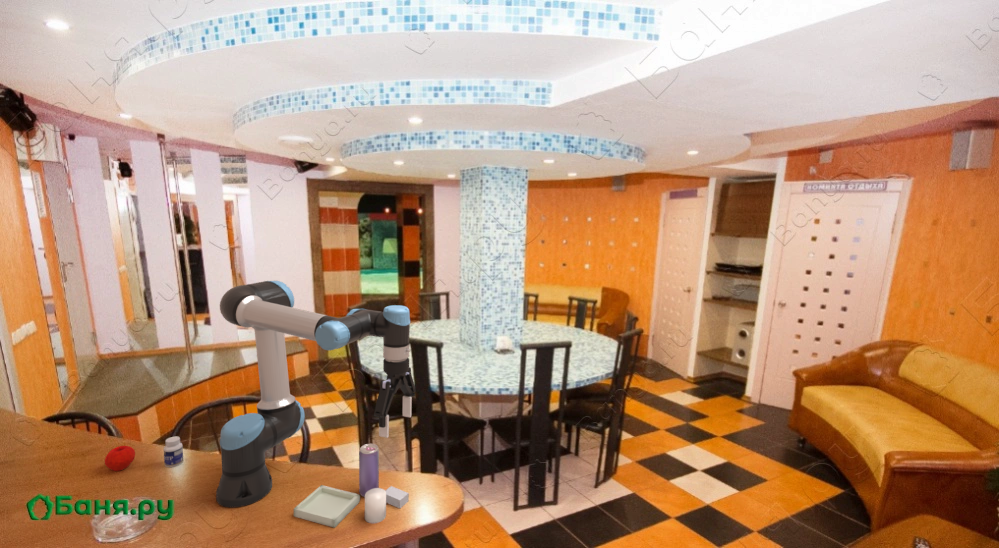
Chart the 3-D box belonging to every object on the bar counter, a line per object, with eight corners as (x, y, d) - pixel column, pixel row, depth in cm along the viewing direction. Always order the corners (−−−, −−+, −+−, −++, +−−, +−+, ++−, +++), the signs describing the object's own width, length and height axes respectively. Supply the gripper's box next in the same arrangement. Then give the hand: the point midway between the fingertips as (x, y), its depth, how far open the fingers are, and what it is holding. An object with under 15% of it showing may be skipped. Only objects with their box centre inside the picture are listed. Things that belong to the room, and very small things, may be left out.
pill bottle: (160, 466, 149) (158, 441, 148) (175, 458, 154) (173, 434, 153) (173, 468, 148) (171, 444, 146) (187, 460, 153) (185, 436, 151)
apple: (140, 466, 148) (139, 446, 147) (110, 478, 141) (108, 456, 140) (131, 459, 152) (129, 439, 151) (101, 469, 146) (99, 448, 145)
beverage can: (373, 499, 136) (373, 454, 134) (355, 496, 137) (355, 451, 135) (382, 488, 142) (382, 444, 140) (365, 485, 143) (365, 442, 141)
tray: (293, 516, 127) (293, 508, 127) (321, 491, 139) (321, 484, 138) (334, 527, 123) (334, 520, 123) (359, 501, 135) (359, 494, 134)
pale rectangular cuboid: (382, 501, 136) (382, 492, 135) (391, 494, 139) (391, 485, 139) (399, 509, 132) (400, 500, 132) (408, 502, 136) (408, 493, 136)
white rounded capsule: (360, 520, 127) (360, 498, 126) (372, 507, 132) (372, 486, 131) (378, 525, 125) (378, 502, 124) (389, 512, 131) (390, 490, 130)
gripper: (385, 374, 117) (384, 448, 119) (426, 348, 140) (425, 410, 143) (360, 370, 119) (360, 443, 122) (405, 345, 142) (405, 407, 145)
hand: (395, 425), depth 132 cm, fingers open, 13 cm apart
